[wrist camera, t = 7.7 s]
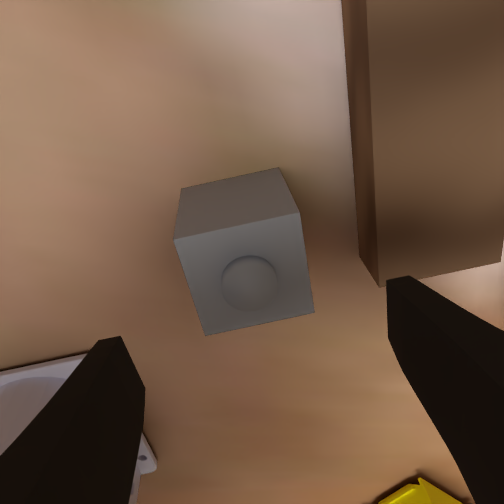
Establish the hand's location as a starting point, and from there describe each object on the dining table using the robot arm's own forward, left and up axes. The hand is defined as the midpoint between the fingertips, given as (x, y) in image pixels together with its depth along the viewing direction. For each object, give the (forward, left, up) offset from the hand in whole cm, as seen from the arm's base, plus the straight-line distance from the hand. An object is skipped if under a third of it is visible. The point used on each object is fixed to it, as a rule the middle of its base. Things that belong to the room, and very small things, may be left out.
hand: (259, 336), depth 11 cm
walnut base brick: (+5, -7, -7) cm, 12 cm away
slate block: (0, 0, -7) cm, 7 cm away
